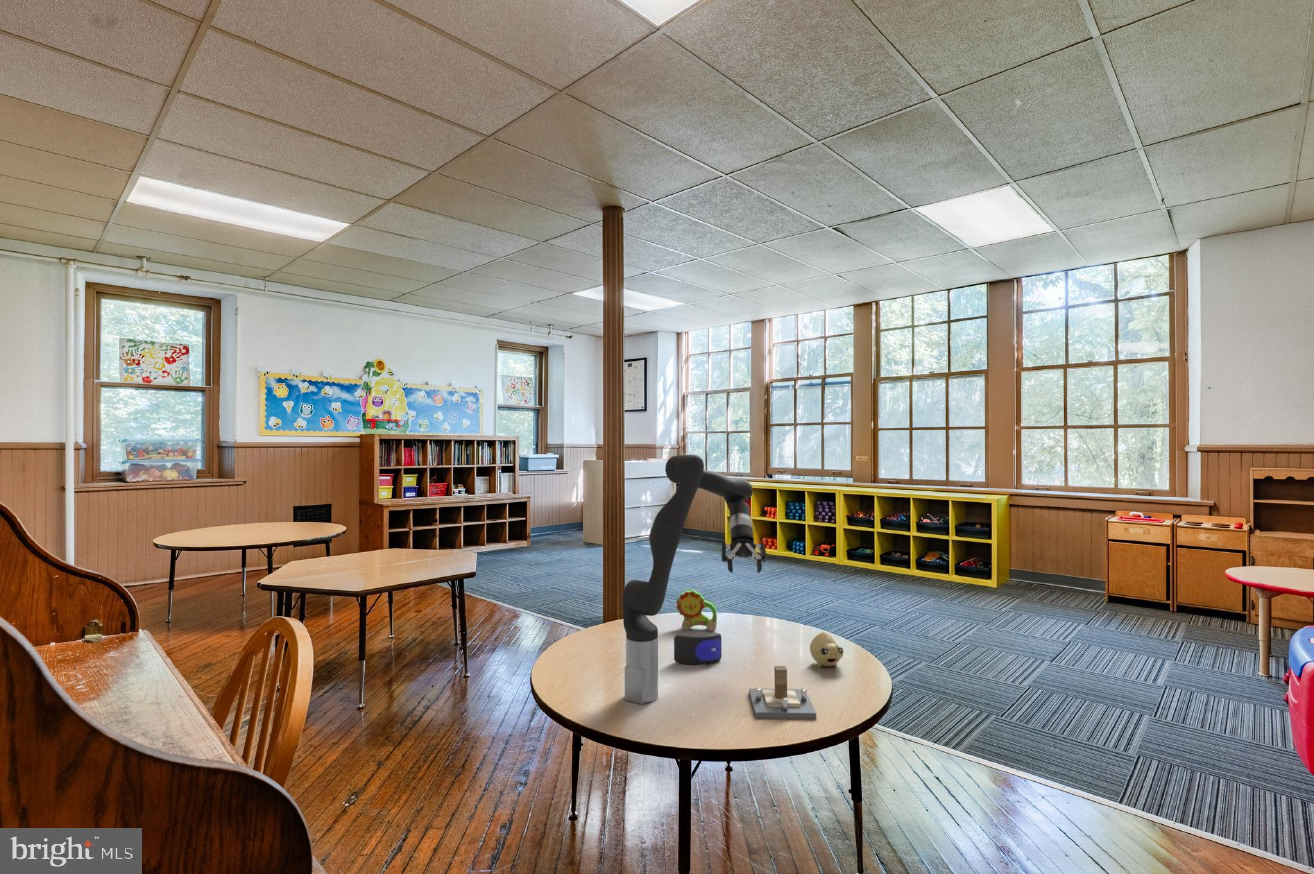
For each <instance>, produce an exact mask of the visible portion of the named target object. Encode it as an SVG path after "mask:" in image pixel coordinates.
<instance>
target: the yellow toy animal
mask: <svg viewBox="0 0 1314 874" xmlns="http://www.w3.org/2000/svg"><path fill="white" fill-rule="evenodd" d="M809 653H810V656H811V657H812V658H813V660H814V661H815V662H816V665H817V667H818V668H821V666H822V667H823V666H824V667H833V666H836V667H838V662H839V661H840V660H841V659H842V658H843V656H844V648H843V647H841V646H839V645H838V644H837V642H836V640H835V639H834V638H833V637H832V636H831V635H830V634H829V633H828V632H826V631H824V632H820V633H817V634H816V636H814V638H812V640H811V642H810V644H809Z"/></svg>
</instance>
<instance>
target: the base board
mask: <svg viewBox="0 0 1314 874" xmlns="http://www.w3.org/2000/svg"><path fill="white" fill-rule="evenodd" d="M755 689H756V688H749V689H748V695H749V699H750V702H751V706H752V710H753V713H754V716H755V719H794V718H816V719H817V711H816V710H815V707H814V706H813V704H812V702H811V699H810V697H809V695H808V694H807V701H806V702H803V701H801V689H802V688H787V690H794V691H795V693H796V695H797V697H798V700H799V702H800V707H788V711H782V707H767V706H766V703H765V699H764V696H763V690H775V688H760V689H761V701H756V700H755Z"/></svg>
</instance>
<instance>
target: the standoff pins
mask: <svg viewBox="0 0 1314 874" xmlns="http://www.w3.org/2000/svg"><path fill="white" fill-rule="evenodd" d="M754 689H755V700H756V701H761V689H762V688H761V687H756V688H754ZM800 689H801V701H803V702H806V701H807V695H808V693H807V692H808V691H807V689H806V688H800ZM782 711H788V698H782Z"/></svg>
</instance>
